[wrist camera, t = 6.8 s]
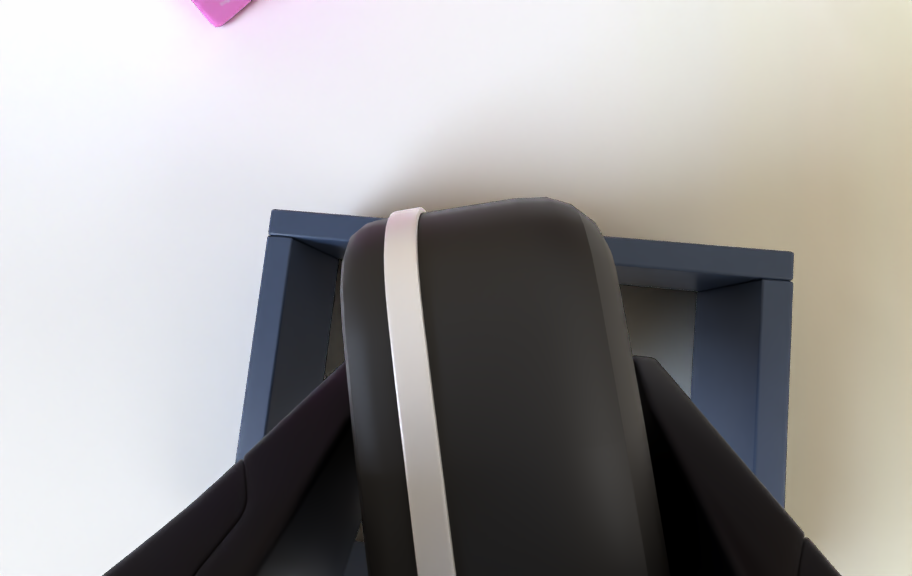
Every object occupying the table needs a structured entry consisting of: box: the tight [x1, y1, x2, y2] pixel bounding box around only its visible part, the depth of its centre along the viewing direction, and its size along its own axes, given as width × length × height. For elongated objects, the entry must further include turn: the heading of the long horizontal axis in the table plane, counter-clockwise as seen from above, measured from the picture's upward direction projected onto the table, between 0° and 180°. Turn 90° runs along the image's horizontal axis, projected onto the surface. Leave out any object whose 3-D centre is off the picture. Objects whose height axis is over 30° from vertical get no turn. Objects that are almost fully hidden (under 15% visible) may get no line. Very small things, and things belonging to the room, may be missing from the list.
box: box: [235, 209, 794, 576], centre depth 14 cm, size 12×15×4 cm
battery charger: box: [340, 197, 670, 576], centre depth 11 cm, size 7×4×11 cm, turn 8°
